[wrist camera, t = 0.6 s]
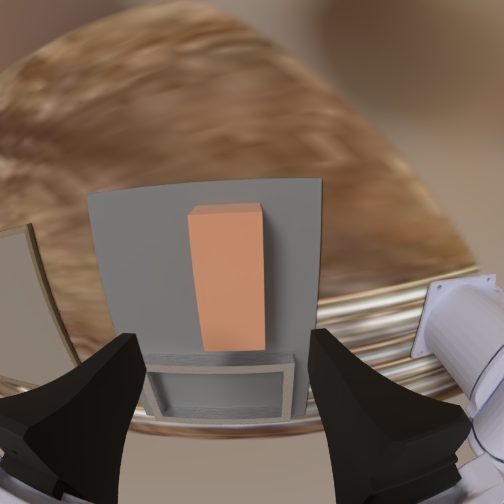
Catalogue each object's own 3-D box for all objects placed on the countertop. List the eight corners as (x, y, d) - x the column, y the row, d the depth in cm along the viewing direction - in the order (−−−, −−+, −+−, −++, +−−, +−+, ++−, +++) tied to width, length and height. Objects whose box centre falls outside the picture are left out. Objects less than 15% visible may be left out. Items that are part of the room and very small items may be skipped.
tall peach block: (259, 202, 18) (262, 211, 15) (262, 325, 21) (265, 349, 18) (196, 205, 18) (187, 215, 15) (209, 326, 21) (204, 351, 18)
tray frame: (292, 351, 22) (294, 363, 20) (288, 409, 24) (289, 421, 23) (139, 352, 22) (134, 363, 20) (159, 409, 24) (156, 420, 23)
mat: (320, 178, 18) (321, 178, 17) (304, 413, 25) (304, 415, 25) (88, 193, 18) (86, 194, 17) (147, 413, 25) (147, 415, 24)
